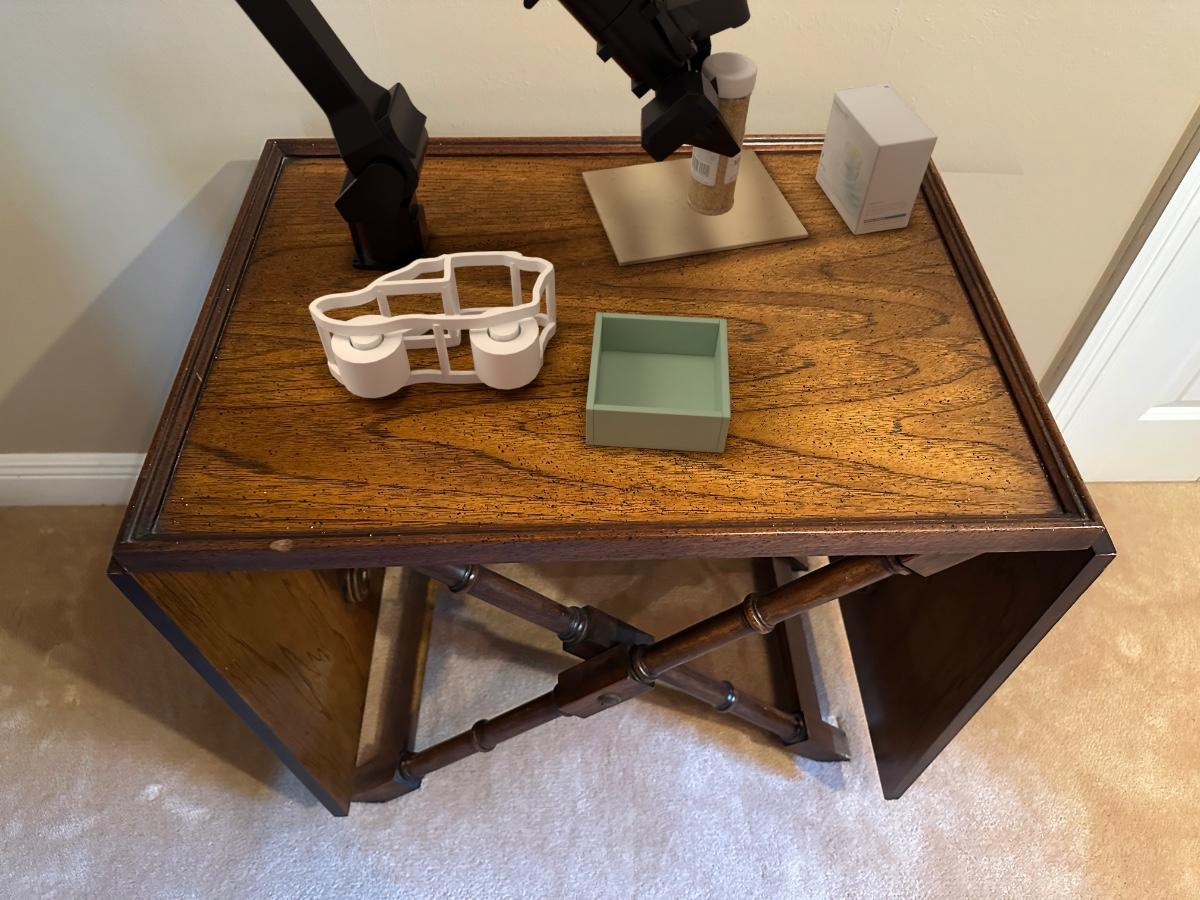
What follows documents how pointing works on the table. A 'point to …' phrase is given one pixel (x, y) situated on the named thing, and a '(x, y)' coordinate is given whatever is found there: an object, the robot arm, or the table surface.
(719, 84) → the sprinkles bottle
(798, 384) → the table surface
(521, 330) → the car outline toy
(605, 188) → the mat
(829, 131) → the cosmetics box
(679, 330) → the bin
